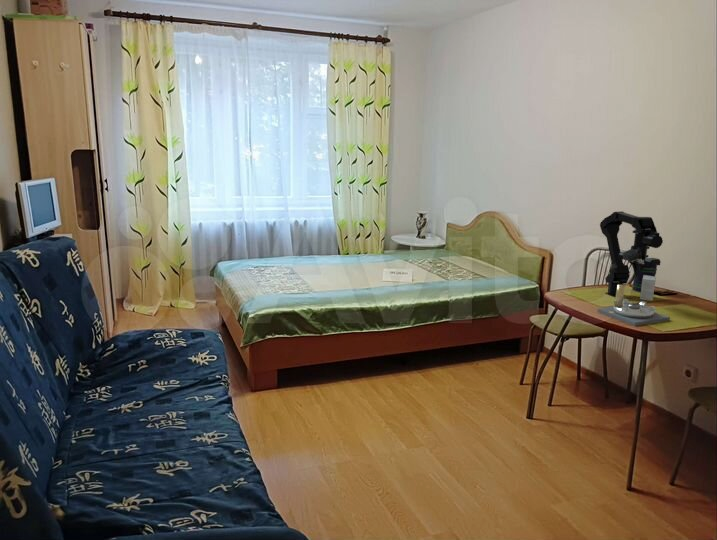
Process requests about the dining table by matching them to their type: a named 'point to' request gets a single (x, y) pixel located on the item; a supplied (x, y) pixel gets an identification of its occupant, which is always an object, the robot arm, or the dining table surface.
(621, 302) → the metal disc with post
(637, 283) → the storage jar
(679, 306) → the dining table surface
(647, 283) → the small box
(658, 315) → the housing plate
